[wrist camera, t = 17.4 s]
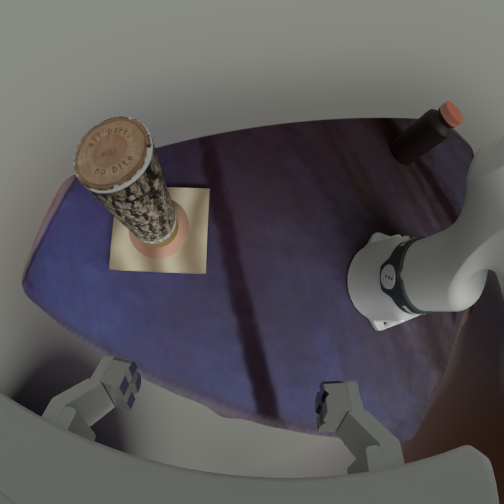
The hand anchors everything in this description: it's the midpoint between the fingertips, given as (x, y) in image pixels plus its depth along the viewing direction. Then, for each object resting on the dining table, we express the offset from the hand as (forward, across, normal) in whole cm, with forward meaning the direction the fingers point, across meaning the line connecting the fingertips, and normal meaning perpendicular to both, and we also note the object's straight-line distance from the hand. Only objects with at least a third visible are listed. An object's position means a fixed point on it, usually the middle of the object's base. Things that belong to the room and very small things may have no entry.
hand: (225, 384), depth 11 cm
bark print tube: (+32, +16, +6) cm, 36 cm away
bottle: (+56, -32, -8) cm, 65 cm away
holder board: (+33, +16, +7) cm, 38 cm away
